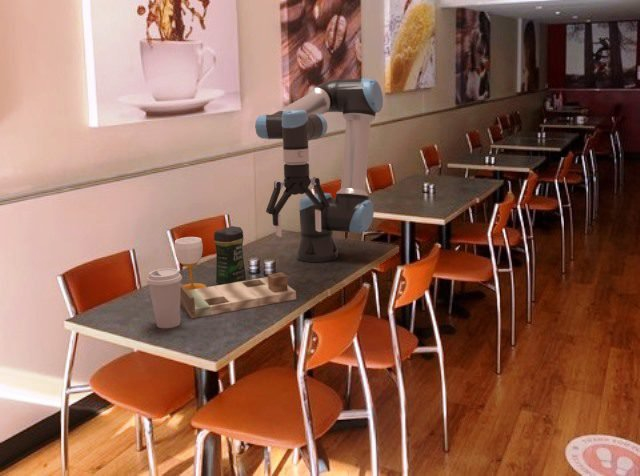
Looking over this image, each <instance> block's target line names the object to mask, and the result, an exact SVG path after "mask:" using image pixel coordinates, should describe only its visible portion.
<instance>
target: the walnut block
mask: <svg viewBox="0 0 640 476" xmlns="http://www.w3.org/2000/svg"><path fill="white" fill-rule="evenodd" d="M267 277H268V288H269V289H270V290H271V291H272V292H274V293H275V292H281V291H286V290H288V286H289V285H288V276H287V275H286V274H284V273H283V272H281V271H279V272H276V273H270V274H269V273H268V274H267ZM287 285H288V286H287Z"/></svg>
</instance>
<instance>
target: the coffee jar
mask: <svg viewBox="0 0 640 476" xmlns="http://www.w3.org/2000/svg"><path fill="white" fill-rule="evenodd" d="M243 231H244V230H243V228H241V227H240V226H235V225H234V226H232V225H231V226H228V227H225V228H222V229H218V230H215V232H214V233H213V243H214V246H215V253H216V254H215V255H216V258H215V259H216V262H215V263H216V267H215V271H216V273H215V278H216V280H215V281H216V284H217V285H223V284H229V283H235V282H241V281H247V275H246V268H245V260H244V249H243V244H244V232H243Z"/></svg>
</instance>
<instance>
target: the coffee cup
mask: <svg viewBox="0 0 640 476" xmlns="http://www.w3.org/2000/svg"><path fill="white" fill-rule="evenodd" d="M182 279H183V277H182V274H181V273H180V272H179V270H178V269H177V268H171V267H170V268H169V267H168V268H158V269H155V270H154V269H153V270H152V271H149V273H148V276H147V278H146V284H148V288H149V293H150V299H151V304H152V309H153V313H154V314H153V315H154V320H155V324H156V328H159V329H172V328H176V327H178V326H180V325H181V304H180V283H181V281H182Z"/></svg>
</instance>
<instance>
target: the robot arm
mask: <svg viewBox="0 0 640 476" xmlns="http://www.w3.org/2000/svg"><path fill="white" fill-rule="evenodd" d="M382 91H383V90H382V88H381V85H380V83H379V82H378V81H377V80H376V79H375V78H365V77H362V78H360V77H358V78H357V77H356V78H335V79H331V80H328V81H325V82H323V83H321V84H318V85H316V86H314V87H312V88H311V89H309V90H308V91H307V92H306V93H305V95H304V96H303V97H301V98H299V99H297V100H296V101H294V102H292V103H290V104H288V105H286V106H285V107H283V108H281V109H279V110H278V111H276V112H274V113H272V114H268V113H267V114H261V115H259V116H257V118H256V120H255V123H254V124H255V125H254V128H255V133H256V135H257V137H259V138H260V139H265V140H282V151H283V152H282V154H283V156H282V157H283V162H284V165H283V175H284V176H283V177H284V179H283V181H278V180H275V181H273V190H272V193H271V195H270V198H269V202H268V204H267V207H266V210H265V213H267V214H269V215H271V216H272V225H273V226H275V236H277V237H279V238H282V234H283V233H282V215H281V214H280V213H281V211H282V209H283V208H284V206H285V204H286V203H287V202H288V200H289V198H290V197H291V196H292V195H293V196H296V195H305V196H303V197H301V198H300V200H299V208H298V211H299V225H300V227H299V228H300V229H299V230H300V239H299V243H298V246H297V249H296V258H297V260H299V261H300V262H306V263H325V262H330V261H334V260H336V259H337V258H338V257H339V249H338V247H337V245H336V241H335V239H334V236H333V232H343V233H351V234H354V233H357V234H358V233H360V234H363V233H365V232H366V231H367V230H368V229H369V228H370V226H371V224H372V222H373V219H374V213H375V208H374V202H372V200H370V195H369V193H367V191H366V184H367V183H366V182H367V174H368V173H367V170H368V159H369V157H368V156H369V148H370V147H369V146H370V135H371V123H372V122H373V121H374V120H375V119H376V115H377V114H378V113H380V112H381V111H382V108H383V105H384V104H383V103H384V102H383V101H384V100H383V99H384V98H383V97H384V96H383V92H382ZM325 113H342V117H343V119H345V121H346V123H345V134H344V147H343V160H342V168H341V169H342V170H341V181H340V182H341V186H340V189H339V190H337V192H336V193H335V198H333V195H332V194H331V193H329V192H324V191H323V188H322V186H321V183H320V182H321V181H320V178H319V177H316V176H314V177H312V178H310V164H309V163H308V162H309V161H310V159H309V158H310V157H309V156H310V155H309V151H310V150H309V141H312V140H317V139H320V138H322V137H324V136H325V135H326V133H327V131H328V122H327V119H326V118H325V117H324V116H323V115H324V114H325ZM376 113H377V114H376ZM310 185H312V186H313V188H314V190H315V194H314V193H313V192H312V191H311V189H310V188H309V187H310ZM283 187H284V188H285V189H284V191H283V192H282V196H281V197H280V196H279V195H280V194H281V193H280V192H281V189H283ZM279 197H280V198H279ZM278 198H279V200H278ZM277 201H278V202H277Z"/></svg>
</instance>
